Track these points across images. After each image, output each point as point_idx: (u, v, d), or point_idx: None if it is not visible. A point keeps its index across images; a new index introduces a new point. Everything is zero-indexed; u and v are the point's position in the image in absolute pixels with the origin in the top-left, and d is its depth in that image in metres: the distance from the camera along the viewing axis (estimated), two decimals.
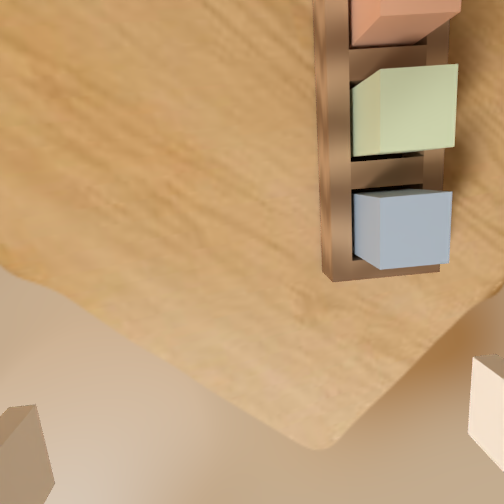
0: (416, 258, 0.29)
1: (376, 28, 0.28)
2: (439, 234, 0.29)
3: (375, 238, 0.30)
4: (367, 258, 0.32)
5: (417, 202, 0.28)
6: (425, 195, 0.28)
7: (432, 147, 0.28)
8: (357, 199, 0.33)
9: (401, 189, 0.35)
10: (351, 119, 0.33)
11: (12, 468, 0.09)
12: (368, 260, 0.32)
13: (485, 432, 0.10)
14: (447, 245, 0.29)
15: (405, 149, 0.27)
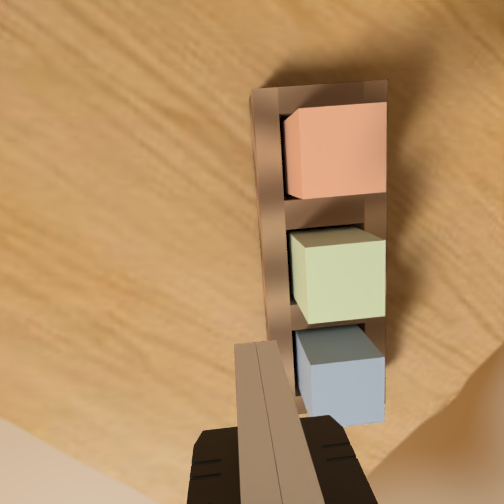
0: (350, 419, 0.29)
1: None
2: (373, 396, 0.29)
3: (309, 397, 0.29)
4: (306, 406, 0.31)
5: (349, 368, 0.28)
6: (357, 361, 0.28)
7: (362, 317, 0.27)
8: (297, 341, 0.33)
9: None
10: (291, 261, 0.32)
11: None
12: (306, 409, 0.31)
13: None
14: (381, 406, 0.29)
15: (334, 320, 0.27)
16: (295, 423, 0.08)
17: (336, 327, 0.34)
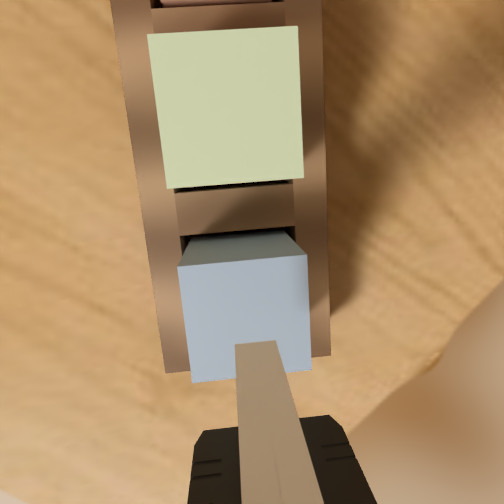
0: None
1: None
2: (291, 324, 0.17)
3: None
4: None
5: (245, 273, 0.16)
6: (259, 261, 0.16)
7: (263, 179, 0.15)
8: None
9: (268, 232, 0.22)
10: None
11: None
12: None
13: None
14: (306, 342, 0.17)
15: (213, 183, 0.15)
16: (294, 423, 0.08)
17: (253, 235, 0.22)
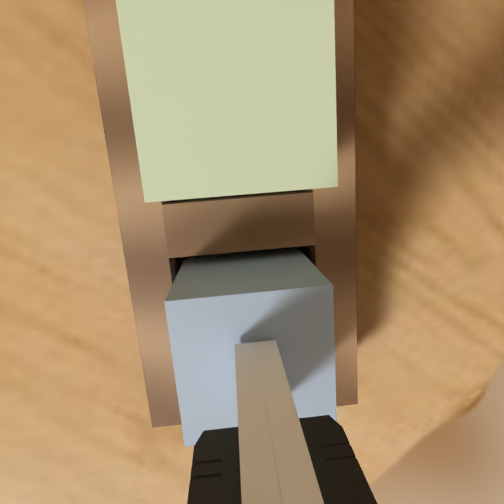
0: None
1: None
2: (311, 373, 0.13)
3: None
4: None
5: (253, 309, 0.13)
6: (271, 294, 0.12)
7: (281, 188, 0.11)
8: None
9: (278, 249, 0.19)
10: None
11: None
12: None
13: None
14: (330, 395, 0.14)
15: (211, 194, 0.11)
16: (294, 423, 0.08)
17: (260, 253, 0.18)
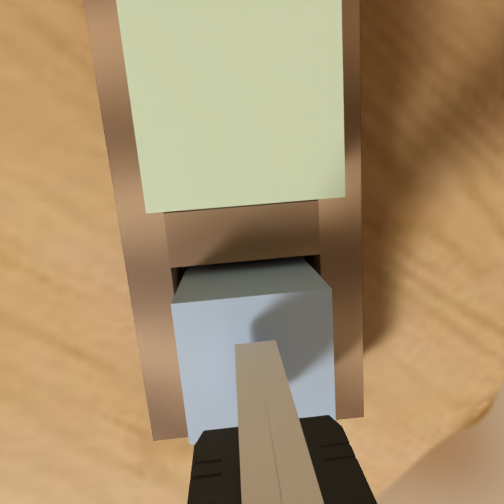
0: None
1: None
2: (311, 373, 0.14)
3: None
4: None
5: (256, 312, 0.13)
6: (272, 297, 0.13)
7: (287, 199, 0.11)
8: None
9: None
10: None
11: None
12: None
13: None
14: (330, 395, 0.14)
15: (214, 204, 0.10)
16: (294, 423, 0.08)
17: None
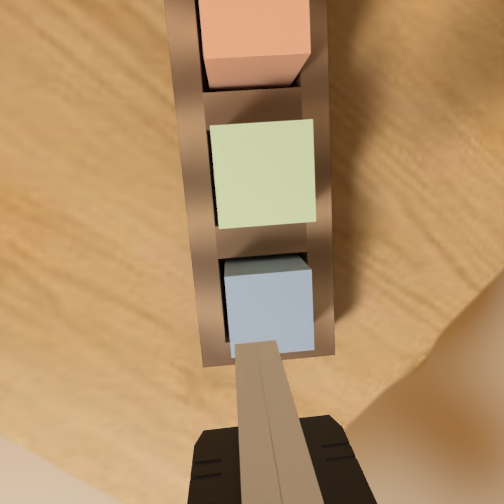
0: None
1: (217, 71, 0.22)
2: (300, 317, 0.25)
3: None
4: None
5: (270, 281, 0.24)
6: (279, 273, 0.24)
7: (287, 222, 0.22)
8: None
9: None
10: None
11: None
12: None
13: None
14: (310, 330, 0.25)
15: (251, 225, 0.21)
16: (294, 423, 0.08)
17: None
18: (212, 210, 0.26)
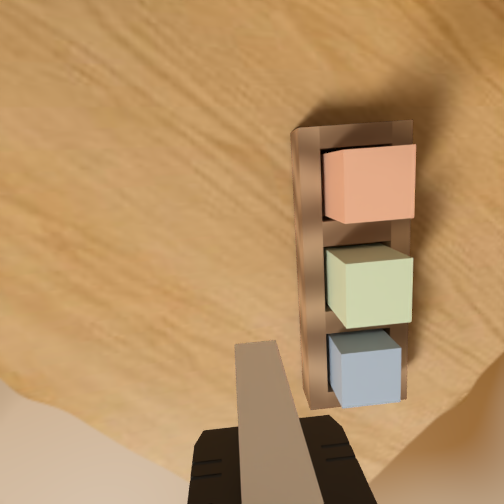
0: (373, 399, 0.35)
1: None
2: (391, 380, 0.35)
3: (339, 381, 0.36)
4: (334, 389, 0.38)
5: (372, 356, 0.34)
6: (379, 351, 0.34)
7: (392, 323, 0.32)
8: (326, 335, 0.39)
9: None
10: (326, 273, 0.37)
11: None
12: (335, 392, 0.38)
13: None
14: (398, 388, 0.35)
15: (368, 325, 0.32)
16: (294, 423, 0.08)
17: None
18: (324, 300, 0.37)
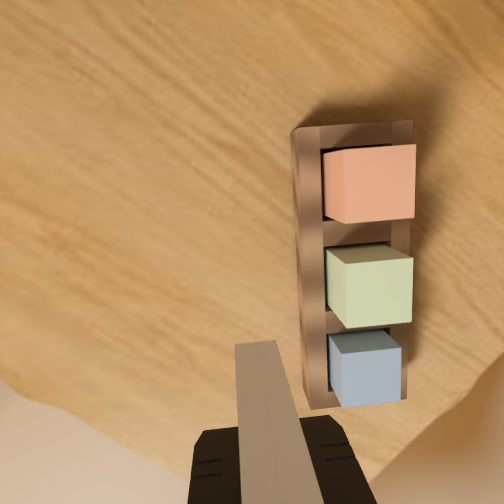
0: (373, 399, 0.35)
1: None
2: (391, 380, 0.35)
3: (339, 380, 0.36)
4: (334, 389, 0.38)
5: (372, 356, 0.34)
6: (379, 351, 0.34)
7: (392, 322, 0.32)
8: (326, 335, 0.39)
9: None
10: (326, 273, 0.37)
11: None
12: (335, 391, 0.38)
13: None
14: (398, 388, 0.35)
15: (368, 325, 0.32)
16: (294, 423, 0.08)
17: None
18: (324, 300, 0.37)
